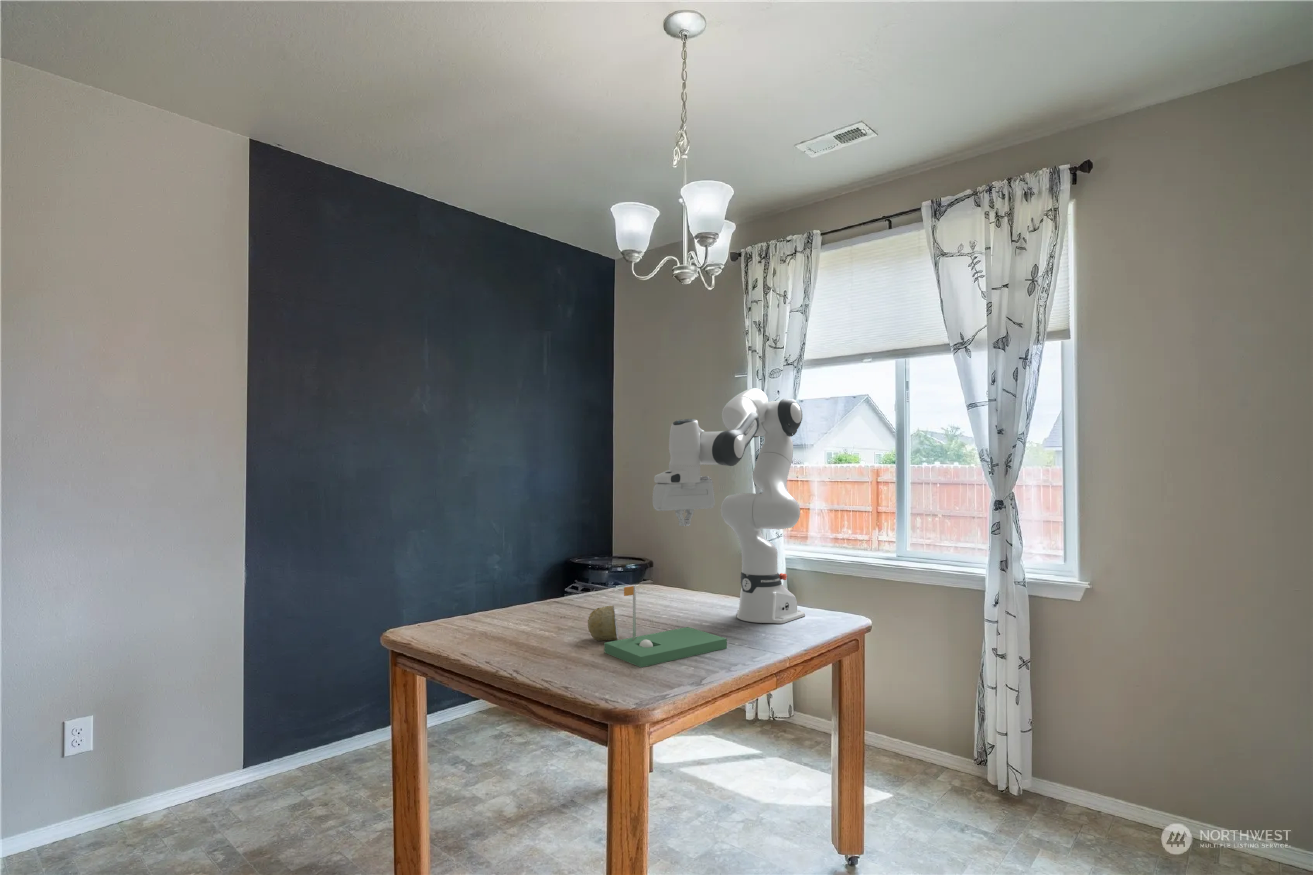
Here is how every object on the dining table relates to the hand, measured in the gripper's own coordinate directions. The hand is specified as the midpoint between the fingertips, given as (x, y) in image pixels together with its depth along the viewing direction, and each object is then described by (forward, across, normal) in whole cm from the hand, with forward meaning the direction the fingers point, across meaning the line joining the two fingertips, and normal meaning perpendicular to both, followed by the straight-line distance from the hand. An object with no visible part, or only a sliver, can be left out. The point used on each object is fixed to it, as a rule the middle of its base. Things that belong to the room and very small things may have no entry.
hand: (684, 525), depth 193 cm
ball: (+29, +19, +7) cm, 35 cm away
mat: (+31, +12, +7) cm, 34 cm away
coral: (+31, +19, -12) cm, 39 cm away
